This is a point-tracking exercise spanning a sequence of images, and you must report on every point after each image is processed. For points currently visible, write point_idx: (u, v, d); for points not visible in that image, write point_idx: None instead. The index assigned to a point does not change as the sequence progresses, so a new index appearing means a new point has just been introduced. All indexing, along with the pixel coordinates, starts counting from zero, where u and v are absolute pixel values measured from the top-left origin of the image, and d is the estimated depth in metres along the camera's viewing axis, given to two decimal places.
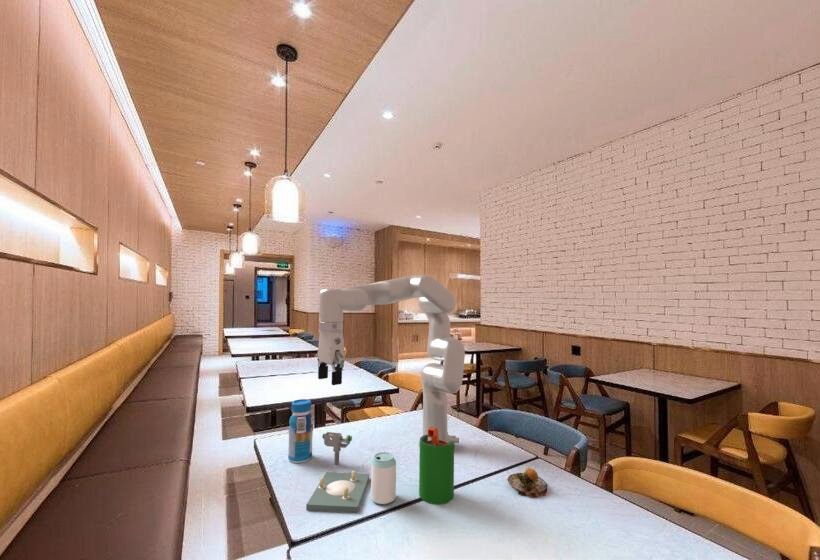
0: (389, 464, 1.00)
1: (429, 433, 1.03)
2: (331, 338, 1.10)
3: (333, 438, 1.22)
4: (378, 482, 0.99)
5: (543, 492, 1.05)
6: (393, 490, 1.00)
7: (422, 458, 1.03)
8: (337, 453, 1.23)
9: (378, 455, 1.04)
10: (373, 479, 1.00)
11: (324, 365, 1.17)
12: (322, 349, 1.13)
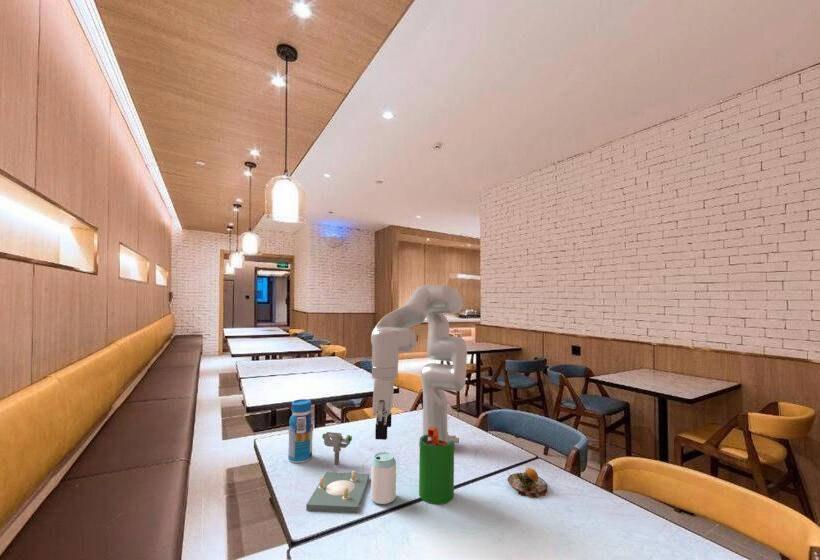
0: (389, 464, 1.00)
1: (429, 433, 1.03)
2: None
3: (333, 438, 1.22)
4: (378, 482, 0.99)
5: (543, 492, 1.05)
6: (393, 490, 1.00)
7: (422, 458, 1.03)
8: (337, 453, 1.23)
9: (378, 455, 1.04)
10: (373, 479, 1.00)
11: None
12: (392, 397, 1.03)
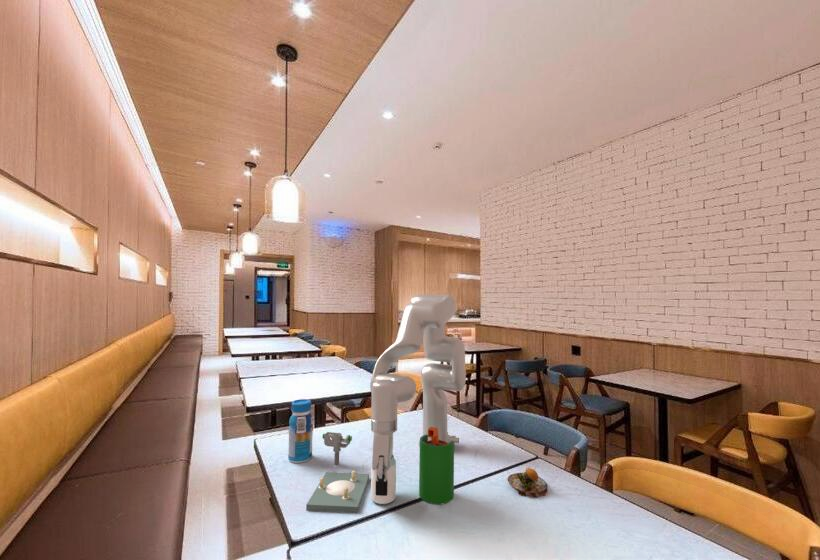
0: None
1: (429, 433, 1.03)
2: None
3: (333, 438, 1.22)
4: None
5: (543, 492, 1.05)
6: (393, 490, 1.00)
7: (422, 458, 1.03)
8: (337, 453, 1.23)
9: None
10: (373, 479, 1.00)
11: None
12: (392, 449, 1.02)
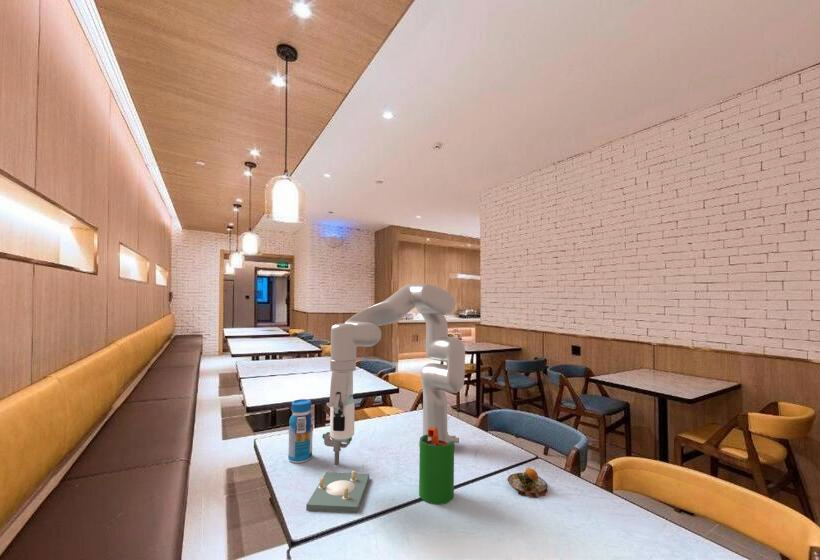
0: None
1: (429, 433, 1.03)
2: None
3: None
4: None
5: (543, 492, 1.05)
6: (351, 427, 1.04)
7: (422, 458, 1.03)
8: (337, 453, 1.23)
9: None
10: (331, 416, 1.04)
11: None
12: (350, 389, 1.06)
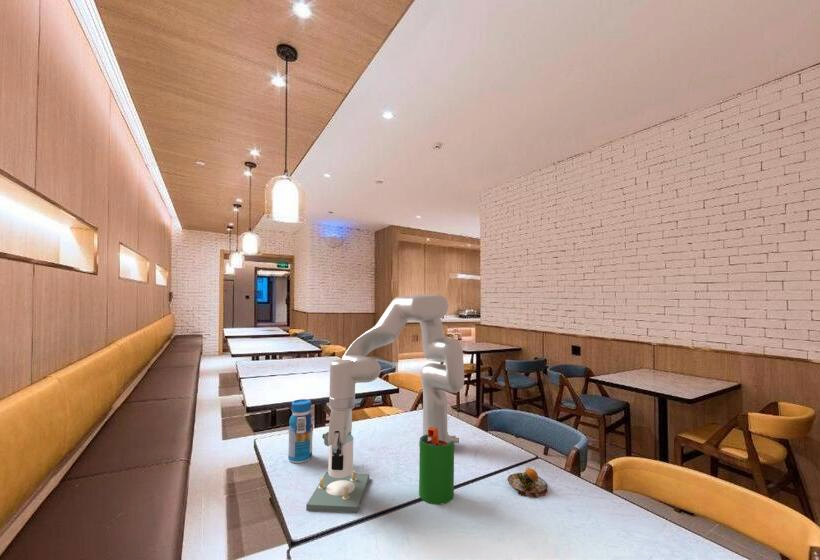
0: None
1: (429, 433, 1.03)
2: None
3: None
4: None
5: (543, 492, 1.05)
6: (349, 465, 1.03)
7: (422, 458, 1.03)
8: None
9: None
10: (330, 454, 1.03)
11: None
12: (349, 426, 1.05)
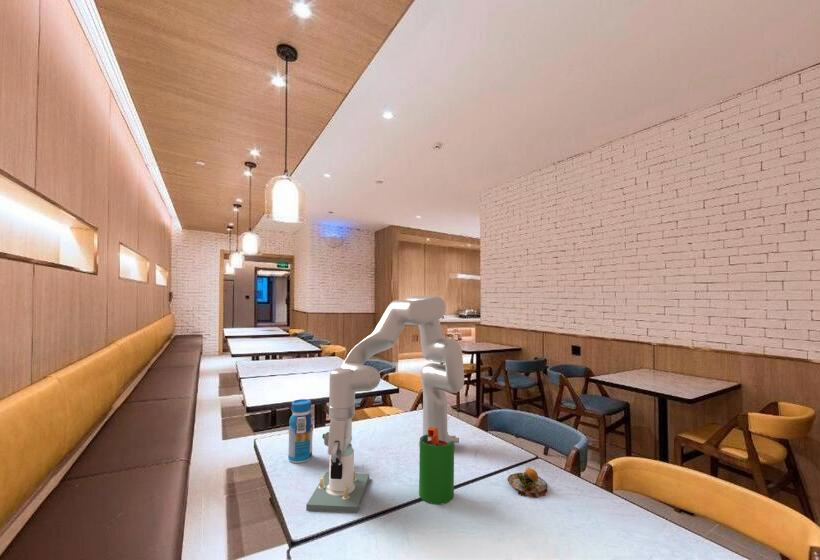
0: (346, 453, 1.03)
1: (429, 433, 1.03)
2: None
3: None
4: None
5: (543, 492, 1.05)
6: (350, 478, 1.03)
7: (422, 458, 1.03)
8: None
9: None
10: (330, 467, 1.03)
11: None
12: (349, 435, 1.05)
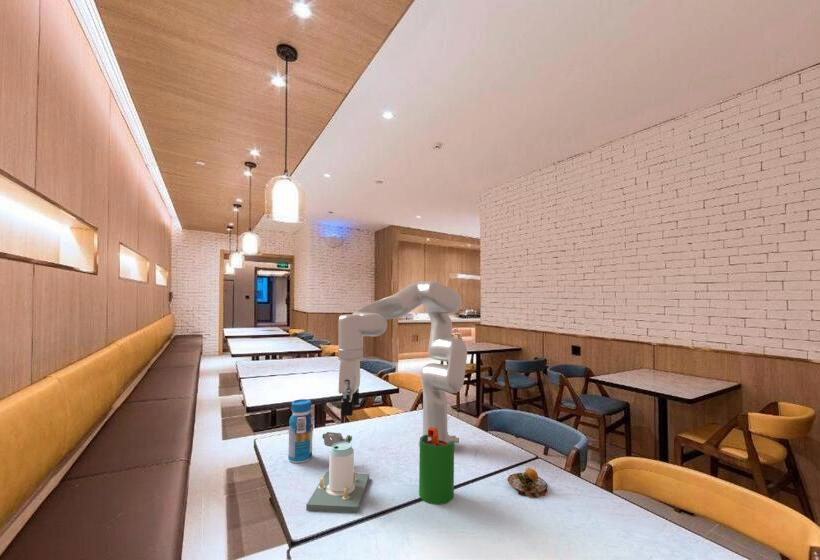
0: (346, 453, 1.03)
1: (429, 433, 1.03)
2: None
3: (333, 438, 1.22)
4: (335, 470, 1.02)
5: (543, 492, 1.05)
6: (350, 478, 1.03)
7: (422, 458, 1.03)
8: None
9: (336, 445, 1.07)
10: (330, 468, 1.03)
11: None
12: (358, 377, 1.10)
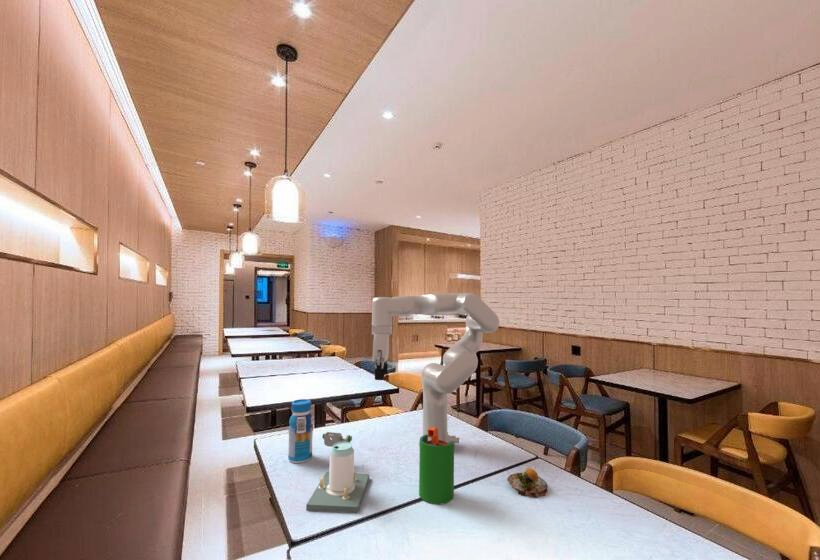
0: (346, 453, 1.03)
1: (429, 433, 1.03)
2: None
3: (333, 438, 1.22)
4: (335, 470, 1.02)
5: (543, 492, 1.05)
6: (350, 478, 1.03)
7: (422, 458, 1.03)
8: None
9: (337, 444, 1.07)
10: (330, 467, 1.03)
11: None
12: (388, 349, 1.31)
